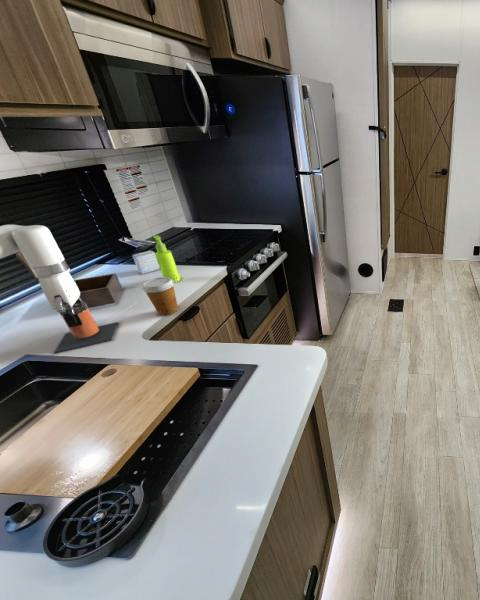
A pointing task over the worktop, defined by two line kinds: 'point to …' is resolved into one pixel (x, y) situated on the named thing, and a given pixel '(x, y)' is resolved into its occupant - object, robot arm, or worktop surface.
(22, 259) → the chest lid
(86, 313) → the jar
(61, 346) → the mat
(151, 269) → the medicine box
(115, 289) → the chest
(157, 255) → the soap dispenser
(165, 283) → the disposable coffee cup
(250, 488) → the worktop surface
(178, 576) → the worktop surface
